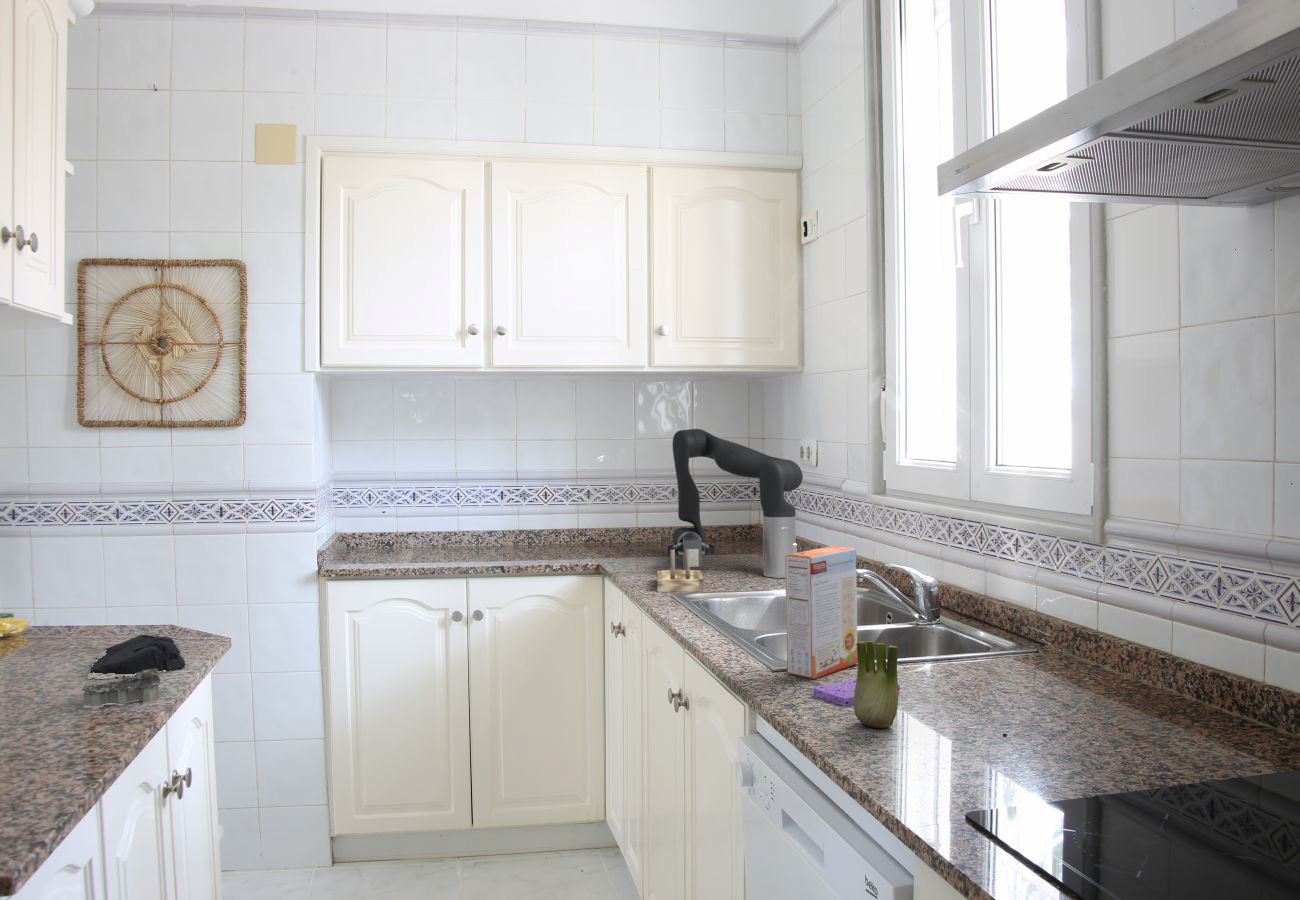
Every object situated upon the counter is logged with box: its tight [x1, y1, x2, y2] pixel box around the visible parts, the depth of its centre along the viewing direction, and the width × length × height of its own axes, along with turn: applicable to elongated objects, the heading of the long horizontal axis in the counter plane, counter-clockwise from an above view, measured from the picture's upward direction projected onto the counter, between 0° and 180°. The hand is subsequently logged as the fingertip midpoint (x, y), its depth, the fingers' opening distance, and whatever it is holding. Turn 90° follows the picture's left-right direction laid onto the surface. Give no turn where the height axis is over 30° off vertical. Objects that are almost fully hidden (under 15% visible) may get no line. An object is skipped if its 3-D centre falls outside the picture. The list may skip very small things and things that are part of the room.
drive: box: [682, 537, 703, 574], centre depth 256 cm, size 5×7×11 cm
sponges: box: [812, 677, 901, 707], centre depth 142 cm, size 7×13×2 cm, turn 124°
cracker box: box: [785, 545, 858, 680], centre depth 156 cm, size 14×6×21 cm, turn 135°
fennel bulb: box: [853, 640, 899, 729], centre depth 127 cm, size 6×5×12 cm
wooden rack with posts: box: [656, 549, 705, 593], centre depth 241 cm, size 12×16×10 cm
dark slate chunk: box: [89, 634, 186, 674], centre depth 165 cm, size 15×22×5 cm
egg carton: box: [81, 668, 162, 707], centre depth 141 cm, size 11×8×4 cm
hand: (691, 551), depth 261 cm, fingers open, 8 cm apart
